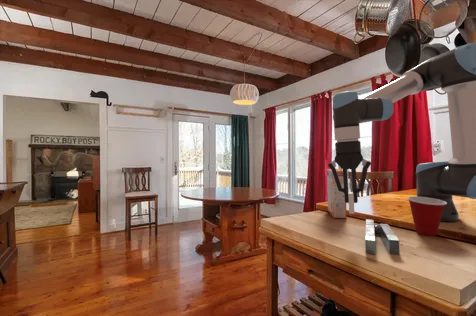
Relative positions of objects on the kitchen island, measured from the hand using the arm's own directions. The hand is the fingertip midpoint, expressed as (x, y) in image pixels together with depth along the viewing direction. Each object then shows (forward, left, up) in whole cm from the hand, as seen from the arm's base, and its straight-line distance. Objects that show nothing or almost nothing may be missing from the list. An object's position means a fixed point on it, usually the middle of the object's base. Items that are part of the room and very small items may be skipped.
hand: (351, 212), depth 80 cm
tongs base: (-9, -3, -10) cm, 13 cm away
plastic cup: (-24, -14, -10) cm, 30 cm away
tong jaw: (-5, -2, -9) cm, 11 cm away
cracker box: (+5, -33, -10) cm, 35 cm away
